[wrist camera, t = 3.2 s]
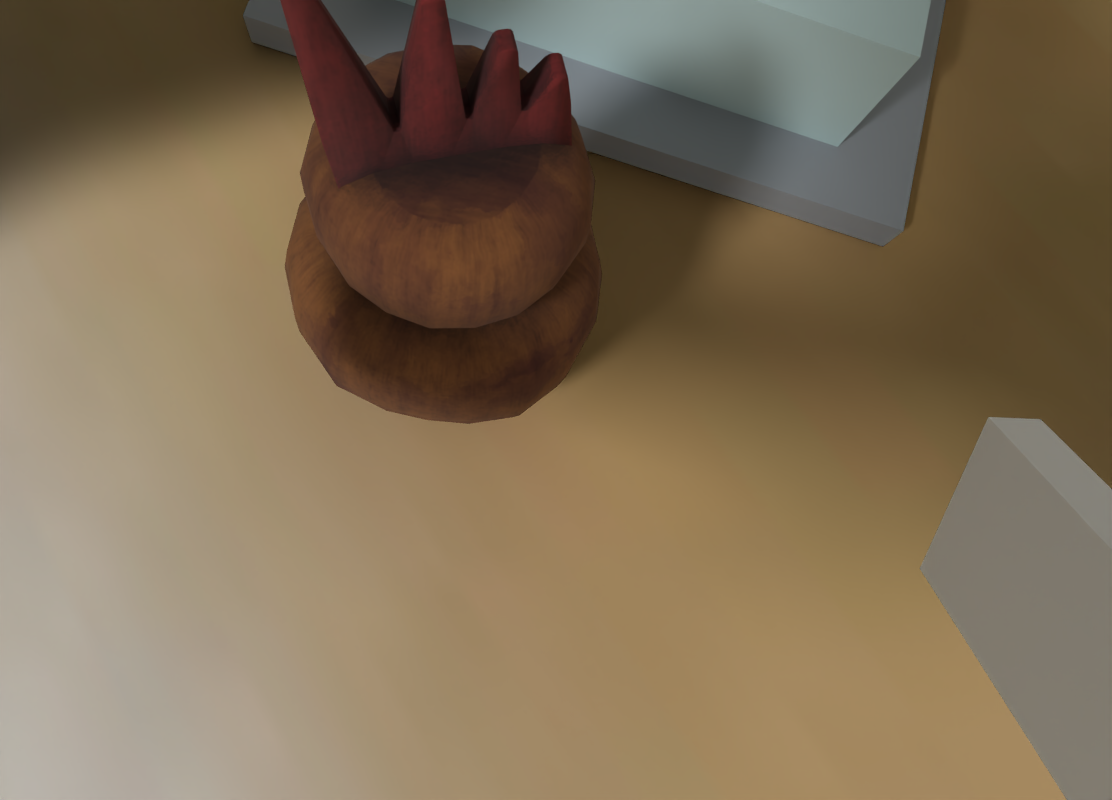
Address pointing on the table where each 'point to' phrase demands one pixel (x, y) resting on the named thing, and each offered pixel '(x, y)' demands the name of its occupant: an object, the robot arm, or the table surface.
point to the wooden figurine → (440, 220)
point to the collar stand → (715, 89)
